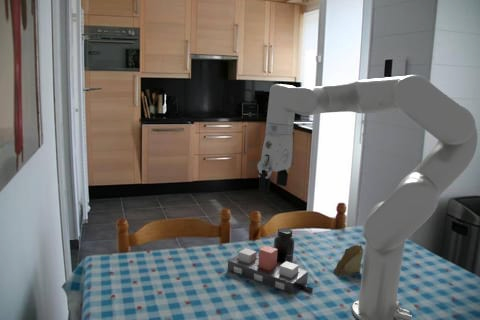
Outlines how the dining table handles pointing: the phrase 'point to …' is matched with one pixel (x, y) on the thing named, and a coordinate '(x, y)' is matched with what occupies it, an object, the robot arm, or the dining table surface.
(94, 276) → the dining table surface
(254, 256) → the button
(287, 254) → the supplement bottle
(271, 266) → the button
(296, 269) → the button
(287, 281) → the push button control box
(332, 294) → the dining table surface
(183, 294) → the dining table surface
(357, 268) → the rock
